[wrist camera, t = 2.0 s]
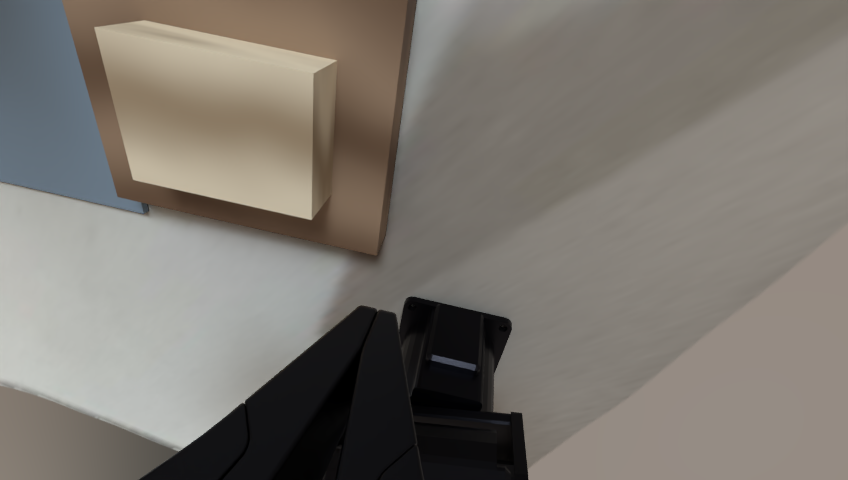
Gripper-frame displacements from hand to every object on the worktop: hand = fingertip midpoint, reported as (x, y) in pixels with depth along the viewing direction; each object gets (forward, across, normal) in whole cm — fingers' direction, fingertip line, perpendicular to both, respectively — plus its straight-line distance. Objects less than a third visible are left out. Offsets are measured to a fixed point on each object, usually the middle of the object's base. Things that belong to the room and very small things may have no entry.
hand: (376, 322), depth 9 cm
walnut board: (+12, +9, 0) cm, 15 cm away
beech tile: (+9, +8, 0) cm, 12 cm away
